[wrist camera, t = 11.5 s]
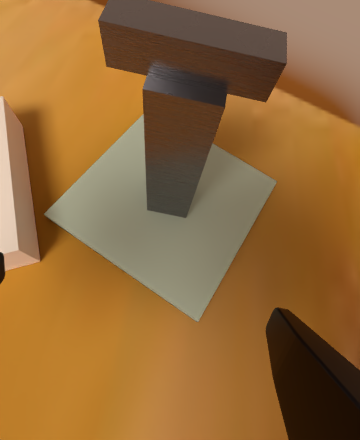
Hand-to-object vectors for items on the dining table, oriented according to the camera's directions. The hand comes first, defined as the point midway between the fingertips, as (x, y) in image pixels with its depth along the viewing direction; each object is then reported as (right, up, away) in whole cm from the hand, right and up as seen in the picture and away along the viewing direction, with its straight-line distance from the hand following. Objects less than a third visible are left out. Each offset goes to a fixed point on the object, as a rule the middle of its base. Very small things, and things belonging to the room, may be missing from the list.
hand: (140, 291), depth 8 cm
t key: (+1, +4, +11) cm, 12 cm away
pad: (+1, +4, +12) cm, 12 cm away
